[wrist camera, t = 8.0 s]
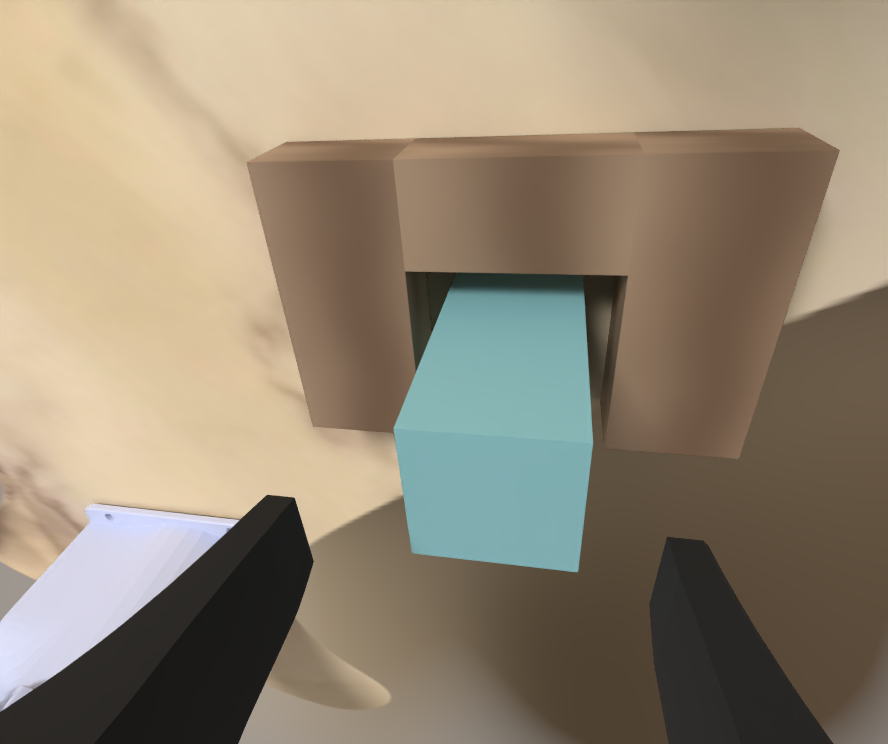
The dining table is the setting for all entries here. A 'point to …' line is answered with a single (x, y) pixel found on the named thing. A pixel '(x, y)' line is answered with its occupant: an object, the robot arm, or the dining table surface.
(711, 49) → the dining table surface
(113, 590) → the robot arm
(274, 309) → the dining table surface
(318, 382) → the u-shaped block
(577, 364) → the peg
